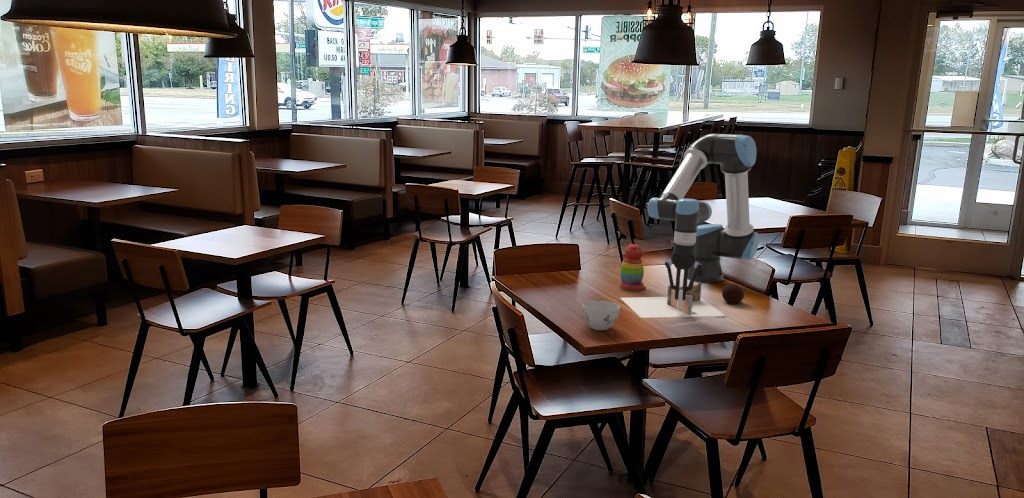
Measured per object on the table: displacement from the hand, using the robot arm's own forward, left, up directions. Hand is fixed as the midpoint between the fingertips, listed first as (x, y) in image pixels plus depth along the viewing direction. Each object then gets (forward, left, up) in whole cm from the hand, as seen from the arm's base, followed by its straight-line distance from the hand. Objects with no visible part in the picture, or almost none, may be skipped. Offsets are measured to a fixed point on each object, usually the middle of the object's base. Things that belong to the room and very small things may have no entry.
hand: (679, 308), depth 270 cm
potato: (-26, -13, -3) cm, 29 cm away
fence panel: (-2, -4, -2) cm, 5 cm away
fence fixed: (-7, -14, -2) cm, 16 cm away
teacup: (+32, +11, -3) cm, 34 cm away
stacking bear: (+5, -39, -3) cm, 39 cm away
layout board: (0, -9, -2) cm, 9 cm away
